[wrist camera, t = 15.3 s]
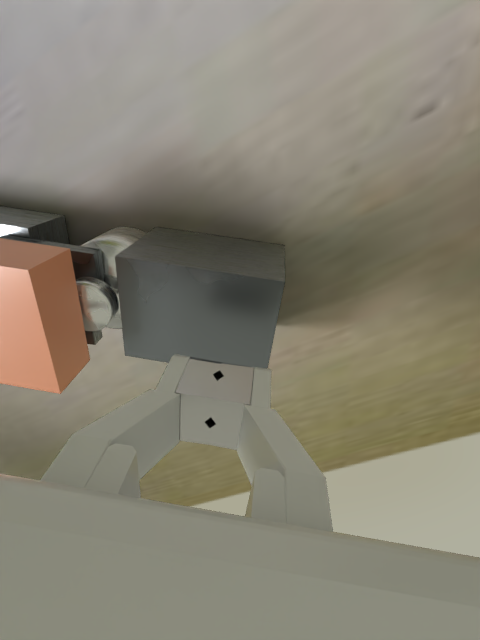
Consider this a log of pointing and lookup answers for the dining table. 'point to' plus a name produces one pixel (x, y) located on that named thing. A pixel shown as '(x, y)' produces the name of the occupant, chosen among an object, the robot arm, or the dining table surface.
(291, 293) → the dining table surface
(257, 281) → the tongs fixed
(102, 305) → the tongs arm
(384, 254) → the dining table surface
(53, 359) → the tab
